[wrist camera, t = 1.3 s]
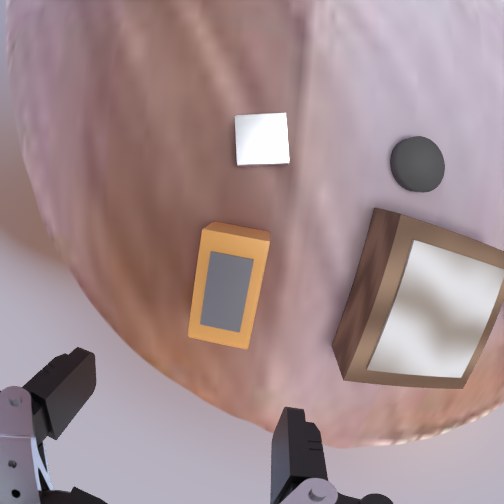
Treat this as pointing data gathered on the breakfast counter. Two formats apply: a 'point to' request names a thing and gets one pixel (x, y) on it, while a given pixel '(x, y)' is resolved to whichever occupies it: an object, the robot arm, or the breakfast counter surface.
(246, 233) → the block
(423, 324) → the brown square box
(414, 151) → the black rubber puck
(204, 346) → the breakfast counter surface
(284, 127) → the grey metal block
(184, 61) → the breakfast counter surface
